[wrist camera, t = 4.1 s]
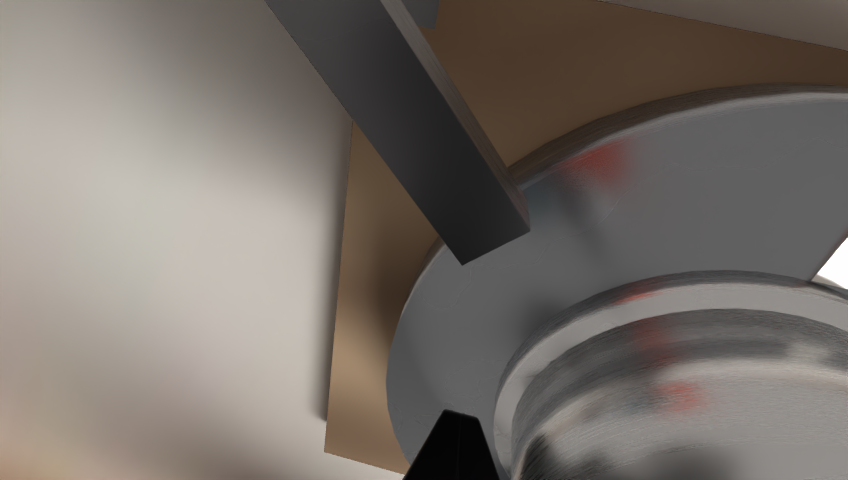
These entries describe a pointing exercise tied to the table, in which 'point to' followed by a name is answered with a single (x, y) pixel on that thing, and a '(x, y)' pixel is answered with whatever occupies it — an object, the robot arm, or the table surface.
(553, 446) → the cover
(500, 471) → the turntable
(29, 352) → the table surface
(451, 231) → the stand
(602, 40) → the plinth
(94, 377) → the table surface
